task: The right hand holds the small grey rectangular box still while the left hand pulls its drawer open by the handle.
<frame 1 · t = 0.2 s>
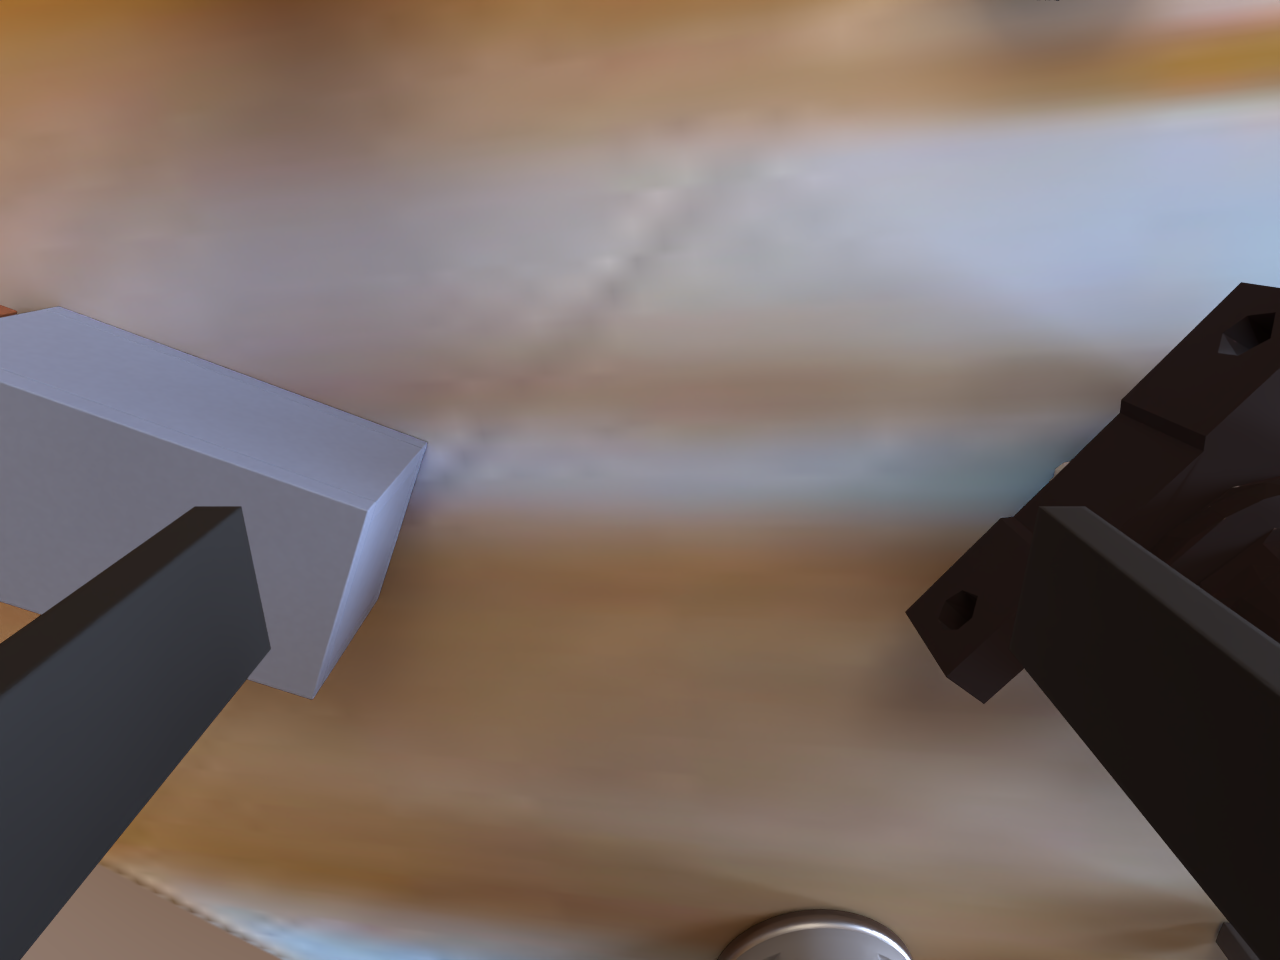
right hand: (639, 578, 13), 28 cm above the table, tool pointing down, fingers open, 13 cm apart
drawer: (56, 453, 36), point 5 cm above the table, slide at 1.2 cm
grey rectangular box: (230, 463, 41), on the table
mechanical component: (1195, 583, 44), on the table
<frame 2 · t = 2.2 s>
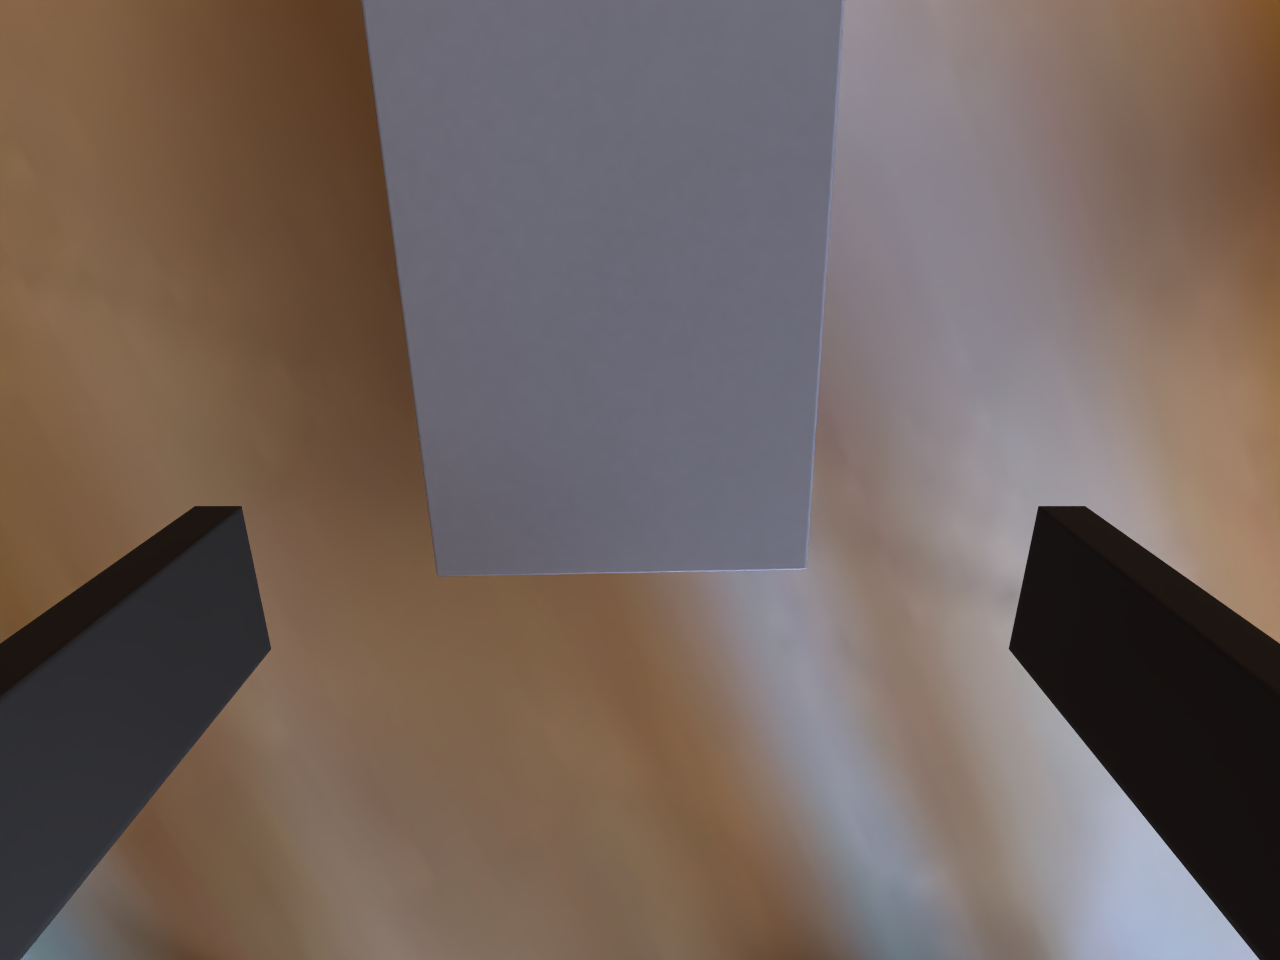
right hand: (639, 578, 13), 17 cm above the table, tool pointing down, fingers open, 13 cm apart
grey rectangular box: (619, 204, 27), on the table
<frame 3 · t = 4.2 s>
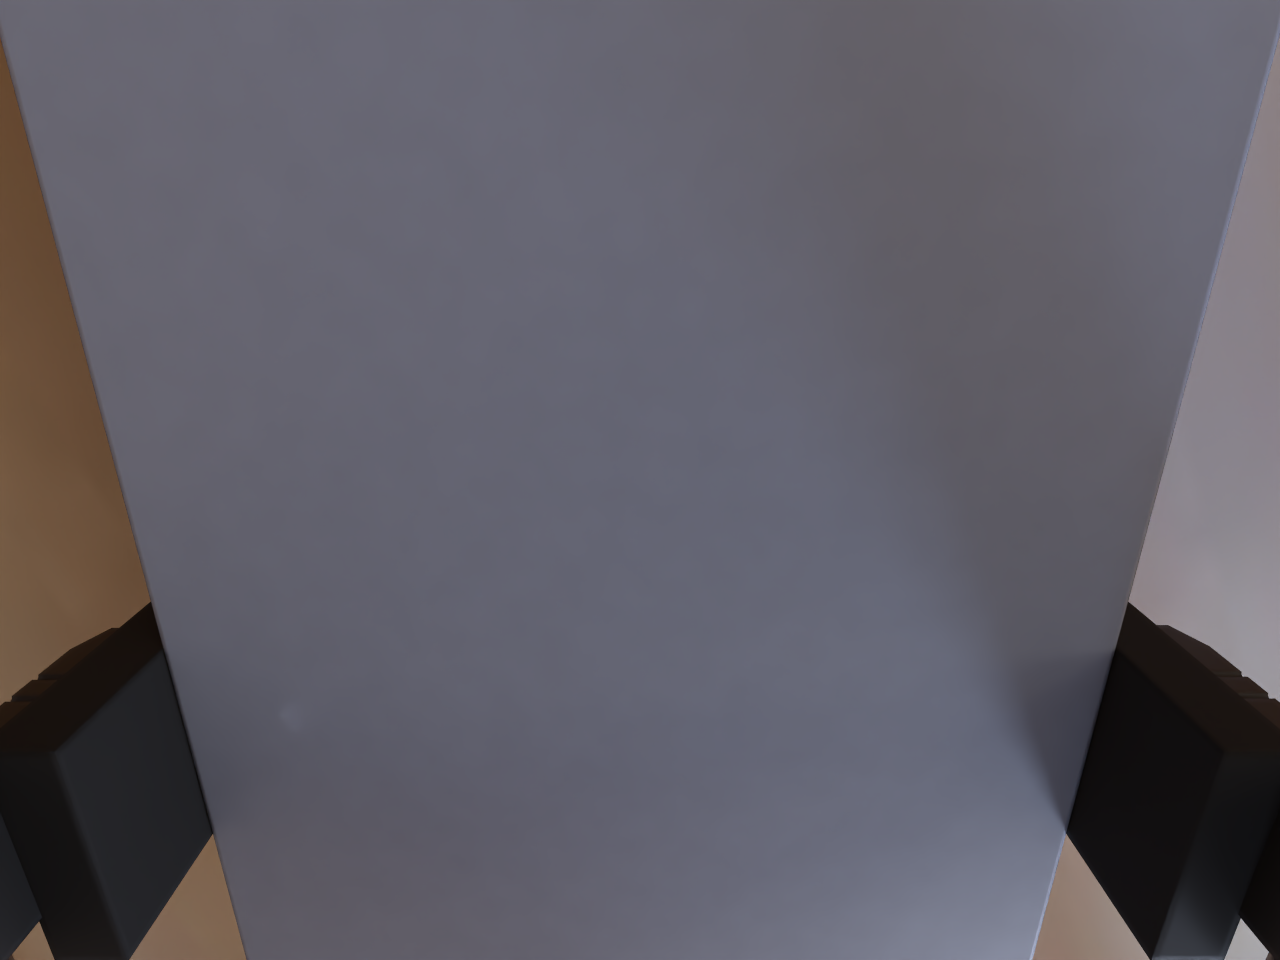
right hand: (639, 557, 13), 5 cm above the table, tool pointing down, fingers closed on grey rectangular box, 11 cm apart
grey rectangular box: (639, 229, 16), on the table, touching right hand
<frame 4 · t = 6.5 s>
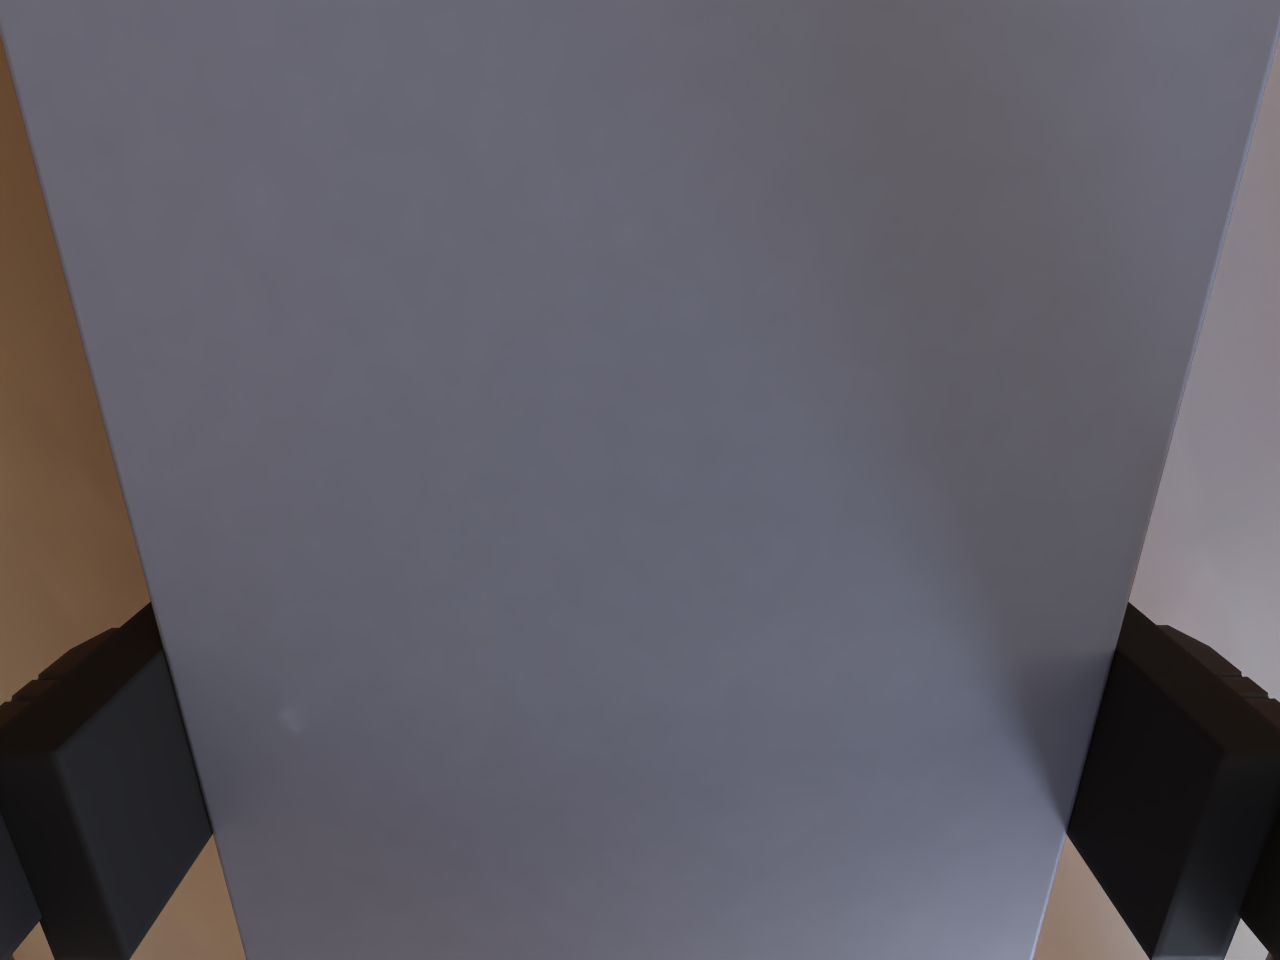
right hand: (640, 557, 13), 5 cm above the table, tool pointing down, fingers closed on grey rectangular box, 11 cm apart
grey rectangular box: (639, 229, 16), on the table, touching right hand
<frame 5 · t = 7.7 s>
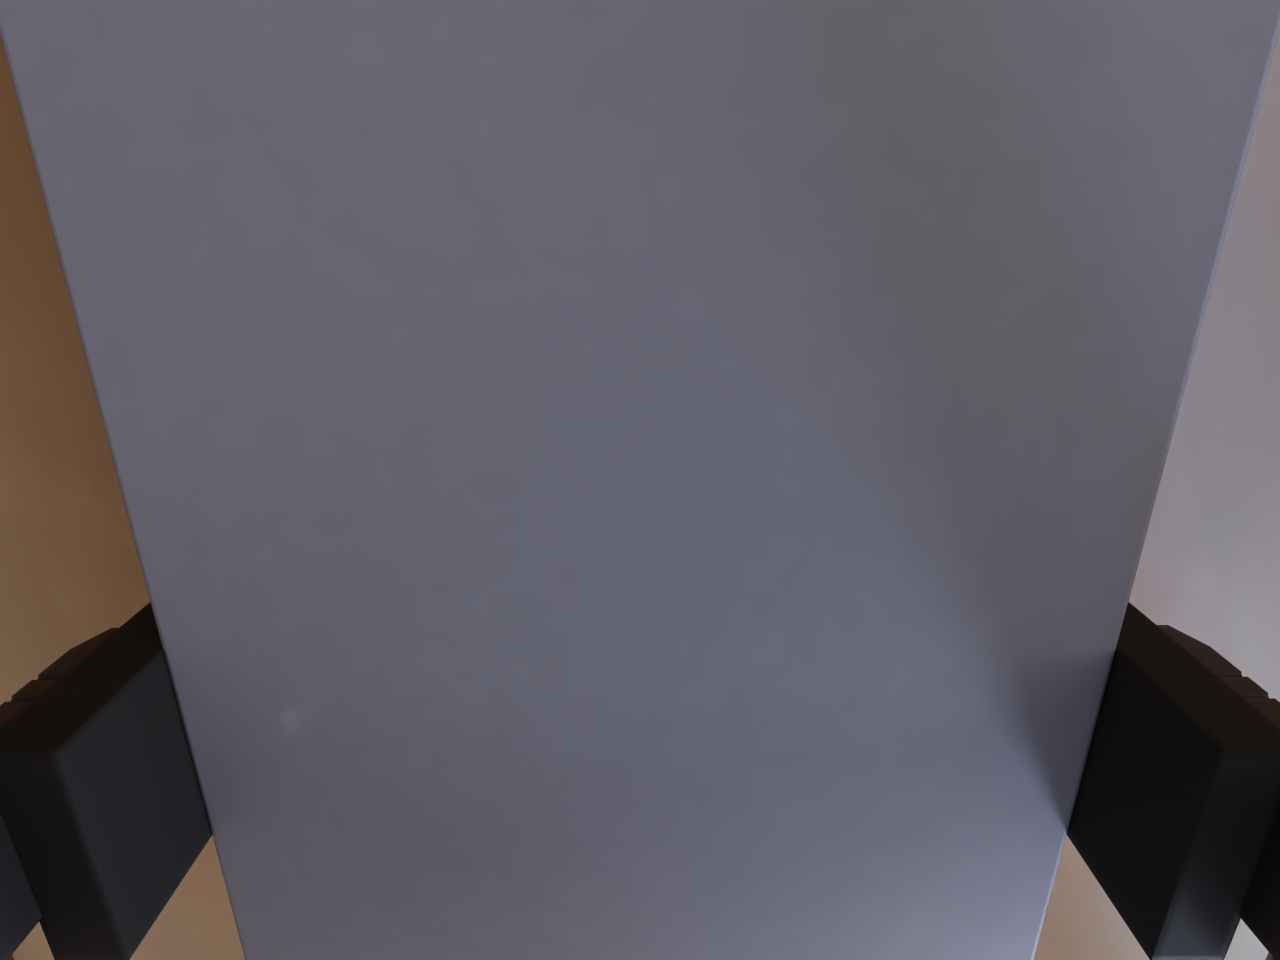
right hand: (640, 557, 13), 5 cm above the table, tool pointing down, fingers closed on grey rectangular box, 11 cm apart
grey rectangular box: (639, 230, 16), on the table, touching right hand
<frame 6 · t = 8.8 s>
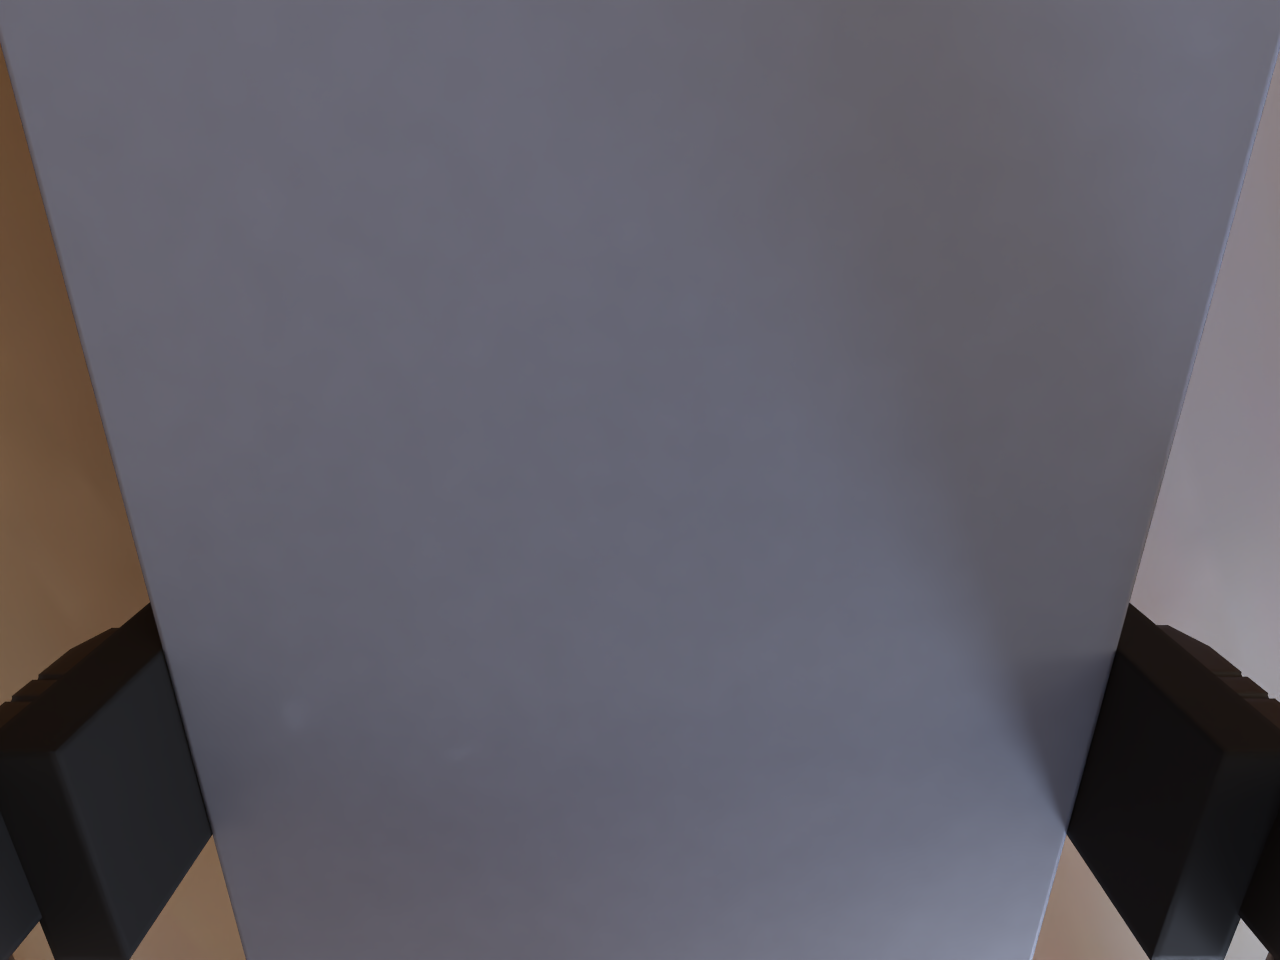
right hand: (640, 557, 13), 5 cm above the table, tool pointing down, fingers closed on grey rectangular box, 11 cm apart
grey rectangular box: (640, 228, 16), on the table, touching right hand
when the right hand's fingers open (5 cm above the table, at t = 9.3 s): grey rectangular box stays where it is, on the table.
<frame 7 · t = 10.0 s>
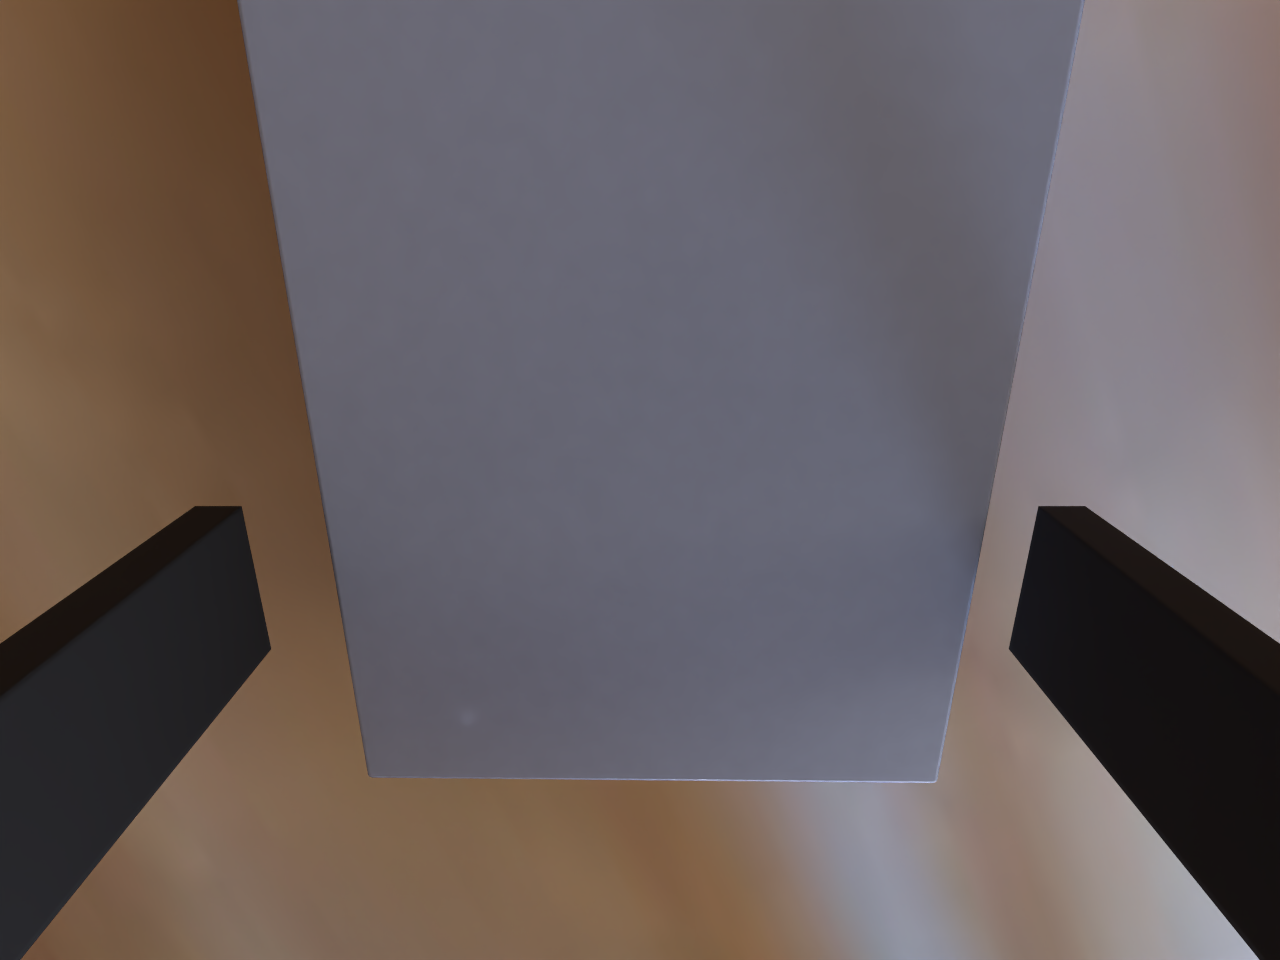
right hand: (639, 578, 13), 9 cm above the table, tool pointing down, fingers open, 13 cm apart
grey rectangular box: (653, 205, 19), on the table
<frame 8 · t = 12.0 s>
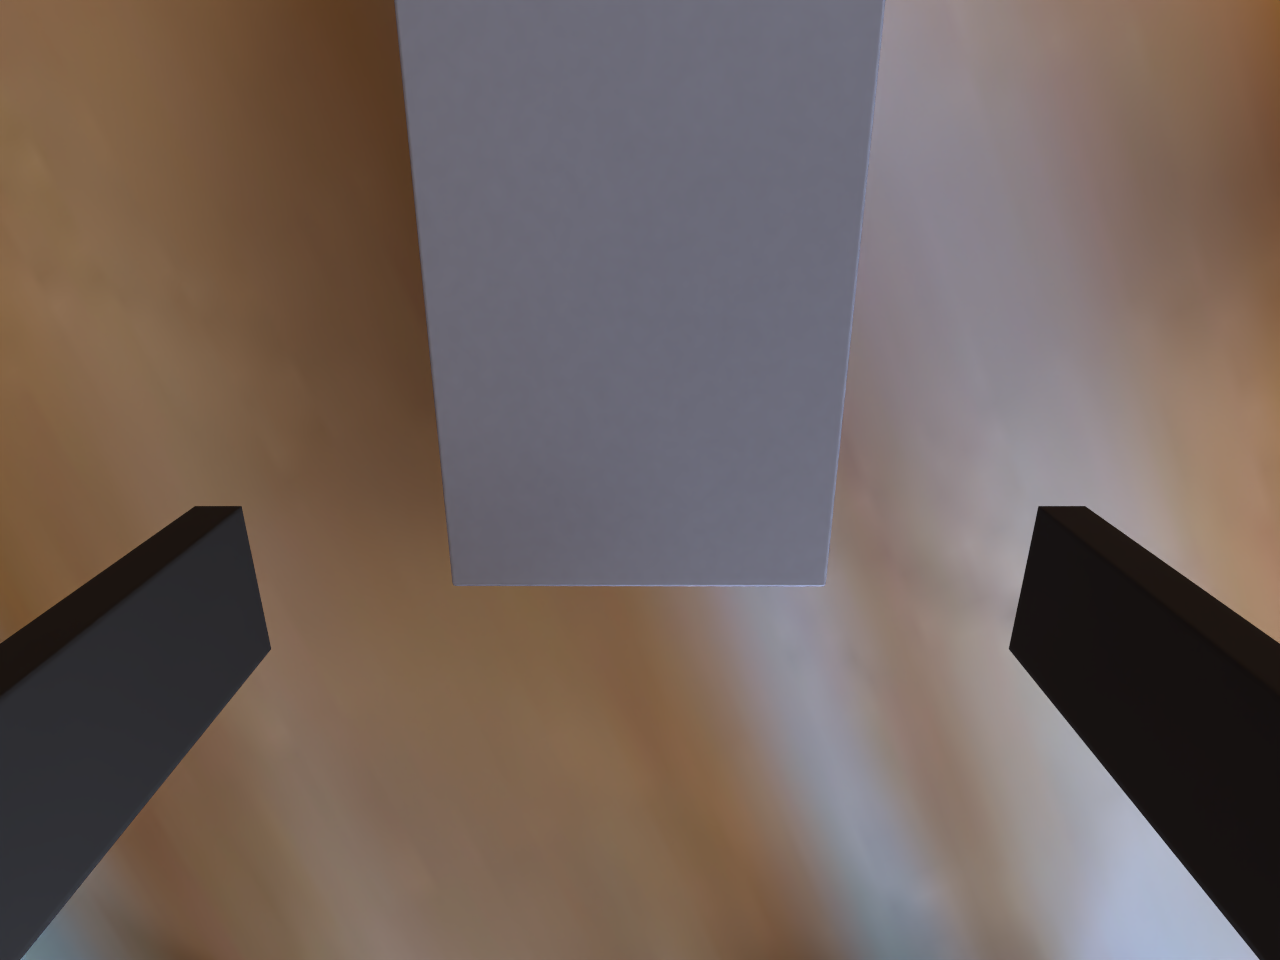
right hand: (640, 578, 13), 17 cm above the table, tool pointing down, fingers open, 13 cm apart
grey rectangular box: (639, 212, 27), on the table
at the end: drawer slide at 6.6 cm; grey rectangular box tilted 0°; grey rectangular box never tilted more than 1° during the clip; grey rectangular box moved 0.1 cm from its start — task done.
